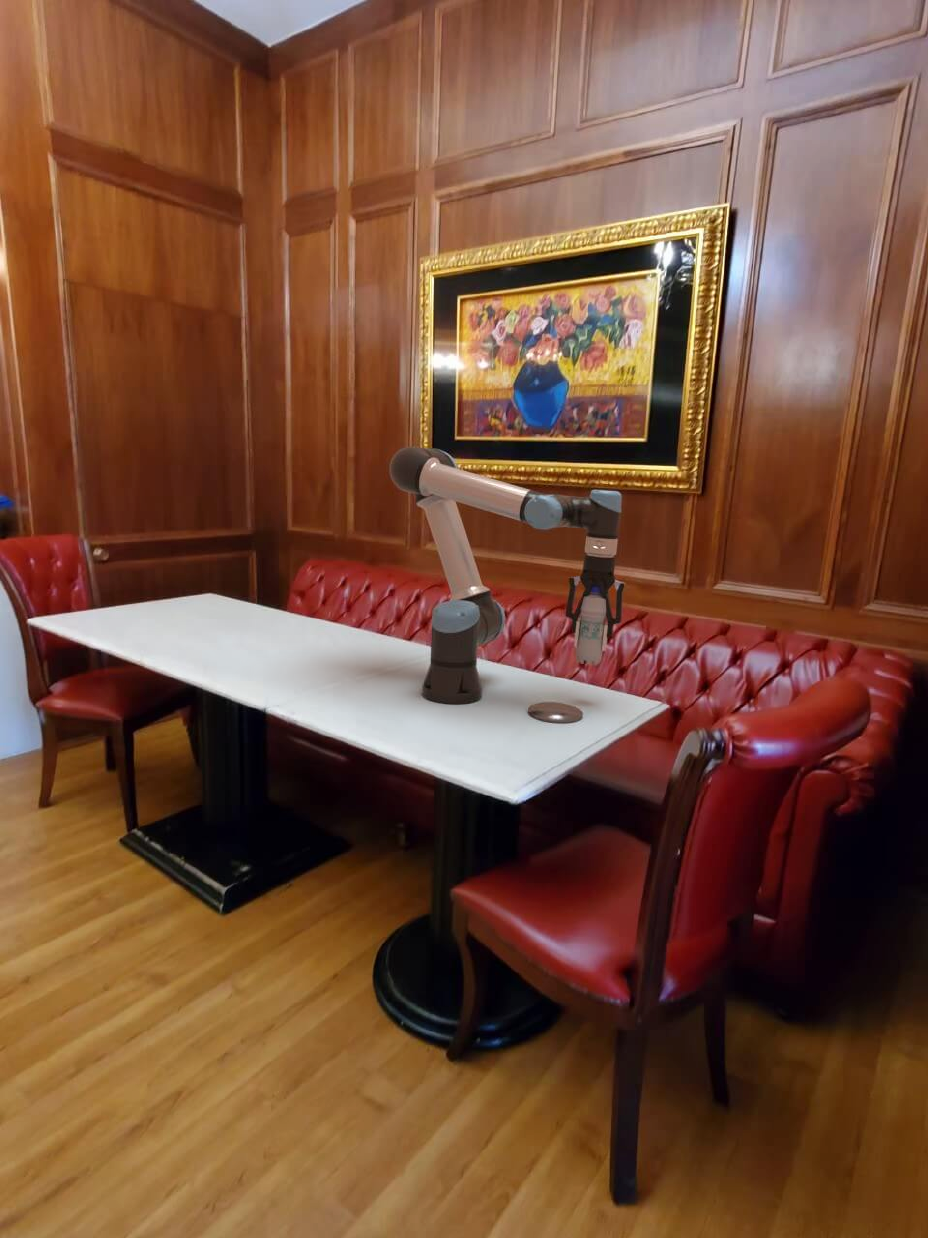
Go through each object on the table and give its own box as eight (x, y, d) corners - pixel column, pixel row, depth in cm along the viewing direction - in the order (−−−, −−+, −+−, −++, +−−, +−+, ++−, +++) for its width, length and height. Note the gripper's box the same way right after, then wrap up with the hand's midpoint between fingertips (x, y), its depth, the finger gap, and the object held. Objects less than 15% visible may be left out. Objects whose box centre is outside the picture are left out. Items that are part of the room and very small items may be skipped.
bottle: (601, 668, 171) (610, 587, 167) (574, 664, 172) (582, 584, 168) (602, 661, 177) (610, 583, 173) (575, 658, 178) (583, 580, 174)
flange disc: (522, 718, 163) (522, 715, 162) (534, 702, 175) (534, 699, 175) (577, 726, 159) (578, 723, 159) (586, 709, 171) (586, 706, 171)
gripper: (558, 552, 168) (549, 645, 173) (639, 560, 163) (627, 656, 167) (563, 549, 175) (554, 639, 180) (641, 557, 170) (630, 649, 174)
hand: (590, 647), depth 174 cm, fingers closed on bottle, 6 cm apart
